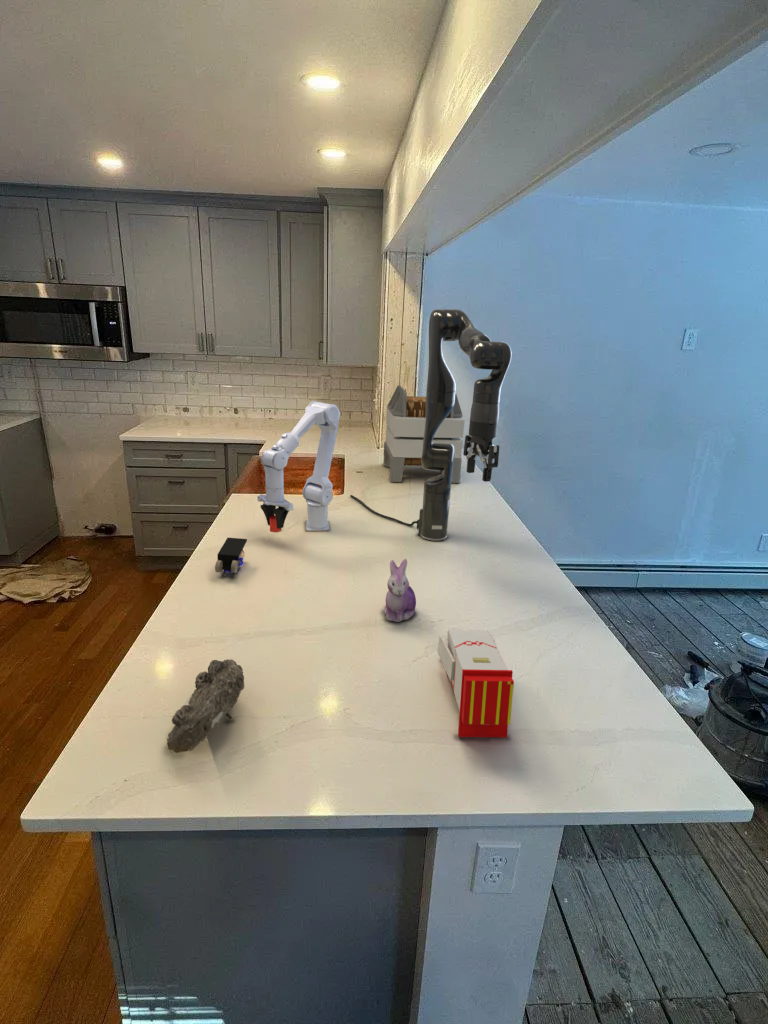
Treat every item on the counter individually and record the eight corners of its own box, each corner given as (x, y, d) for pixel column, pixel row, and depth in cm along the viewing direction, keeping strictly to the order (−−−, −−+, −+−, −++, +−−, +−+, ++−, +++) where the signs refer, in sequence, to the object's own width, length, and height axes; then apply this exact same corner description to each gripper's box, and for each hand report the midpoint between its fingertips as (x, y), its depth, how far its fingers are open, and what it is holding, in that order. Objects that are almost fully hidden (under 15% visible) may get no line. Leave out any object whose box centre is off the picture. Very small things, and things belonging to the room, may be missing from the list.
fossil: (192, 660, 117) (244, 628, 112) (224, 691, 120) (276, 661, 115) (142, 746, 98) (202, 712, 93) (182, 779, 101) (242, 748, 96)
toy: (488, 613, 130) (523, 677, 101) (484, 667, 133) (517, 744, 104) (435, 612, 130) (455, 676, 101) (432, 666, 133) (451, 743, 103)
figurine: (392, 627, 141) (395, 572, 136) (374, 608, 149) (376, 556, 144) (425, 619, 145) (429, 566, 140) (405, 601, 154) (408, 550, 149)
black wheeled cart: (238, 584, 162) (249, 557, 175) (236, 562, 158) (247, 536, 172) (215, 584, 161) (227, 556, 175) (212, 561, 158) (225, 535, 171)
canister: (268, 531, 185) (267, 518, 184) (271, 527, 189) (271, 514, 187) (279, 532, 185) (279, 519, 183) (283, 528, 188) (282, 515, 187)
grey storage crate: (382, 463, 289) (386, 382, 275) (445, 464, 293) (451, 384, 279) (390, 482, 257) (394, 392, 243) (460, 483, 261) (468, 394, 247)
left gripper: (249, 484, 183) (251, 524, 187) (281, 494, 175) (282, 535, 179) (266, 480, 188) (267, 518, 193) (297, 489, 180) (298, 529, 185)
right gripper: (458, 414, 157) (453, 470, 163) (486, 424, 145) (479, 485, 150) (482, 413, 160) (476, 469, 165) (511, 423, 147) (503, 483, 153)
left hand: (275, 526), depth 186 cm, fingers closed on canister, 4 cm apart
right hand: (478, 476), depth 158 cm, fingers open, 8 cm apart
